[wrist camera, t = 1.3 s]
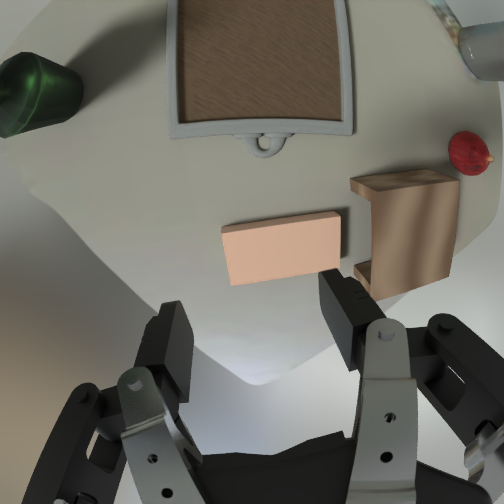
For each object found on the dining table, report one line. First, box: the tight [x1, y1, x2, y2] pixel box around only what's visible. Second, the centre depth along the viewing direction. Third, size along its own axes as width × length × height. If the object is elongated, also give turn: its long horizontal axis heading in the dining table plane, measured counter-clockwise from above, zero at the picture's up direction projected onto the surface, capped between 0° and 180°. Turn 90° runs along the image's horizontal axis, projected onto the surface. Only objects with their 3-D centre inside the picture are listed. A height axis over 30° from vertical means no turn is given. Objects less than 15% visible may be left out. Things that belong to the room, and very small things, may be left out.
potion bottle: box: [0, 52, 83, 138], centre depth 13 cm, size 8×8×18 cm
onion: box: [448, 131, 494, 176], centre depth 24 cm, size 6×6×8 cm
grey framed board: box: [166, 0, 353, 158], centre depth 21 cm, size 19×2×30 cm
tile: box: [221, 211, 341, 286], centre depth 31 cm, size 13×6×2 cm, turn 97°
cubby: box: [350, 169, 460, 302], centre depth 29 cm, size 12×13×6 cm
